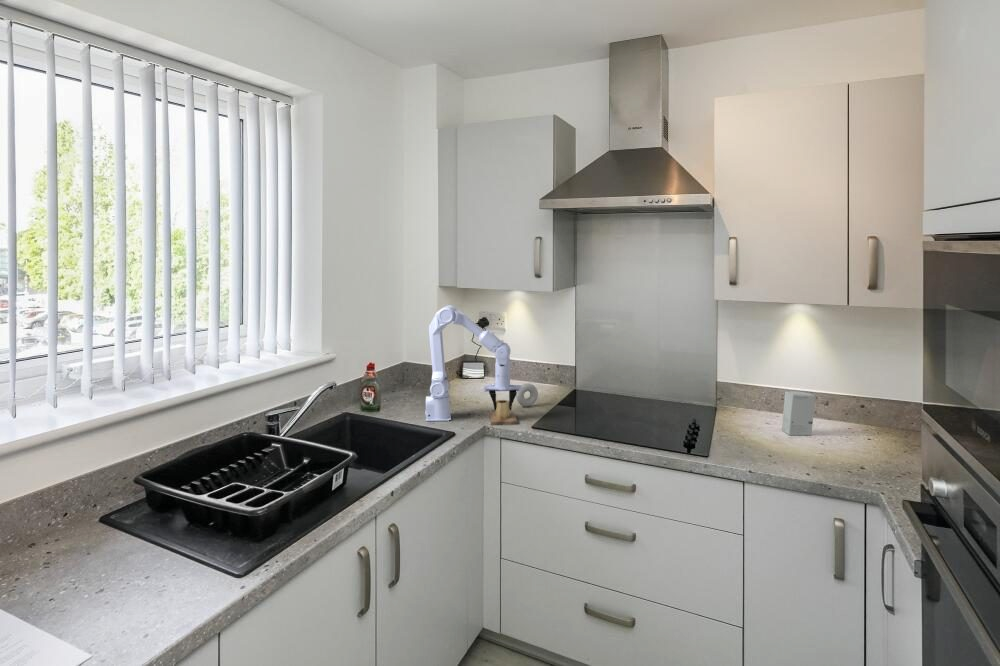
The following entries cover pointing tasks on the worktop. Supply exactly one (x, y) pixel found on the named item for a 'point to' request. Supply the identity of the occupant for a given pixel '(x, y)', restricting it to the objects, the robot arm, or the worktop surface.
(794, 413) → the skincare box
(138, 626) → the worktop surface
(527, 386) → the donut
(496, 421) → the shaft stand
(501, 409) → the hub
